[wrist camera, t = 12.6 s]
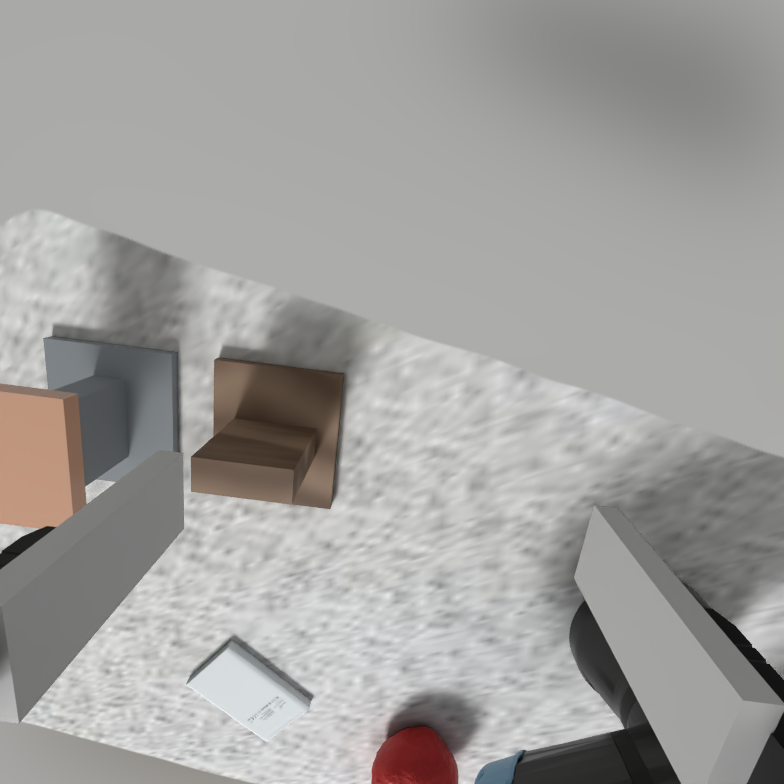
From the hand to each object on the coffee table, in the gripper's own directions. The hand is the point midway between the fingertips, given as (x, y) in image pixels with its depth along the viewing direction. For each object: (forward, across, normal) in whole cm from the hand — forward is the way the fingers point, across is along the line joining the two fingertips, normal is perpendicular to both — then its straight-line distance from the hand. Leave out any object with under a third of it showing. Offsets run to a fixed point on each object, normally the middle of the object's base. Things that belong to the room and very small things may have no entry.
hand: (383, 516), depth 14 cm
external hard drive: (+29, -13, -43) cm, 54 cm away
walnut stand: (+29, -11, -10) cm, 32 cm away
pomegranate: (+29, +8, -49) cm, 57 cm away
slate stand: (+29, -27, -10) cm, 41 cm away
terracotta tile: (+19, -27, -10) cm, 34 cm away
